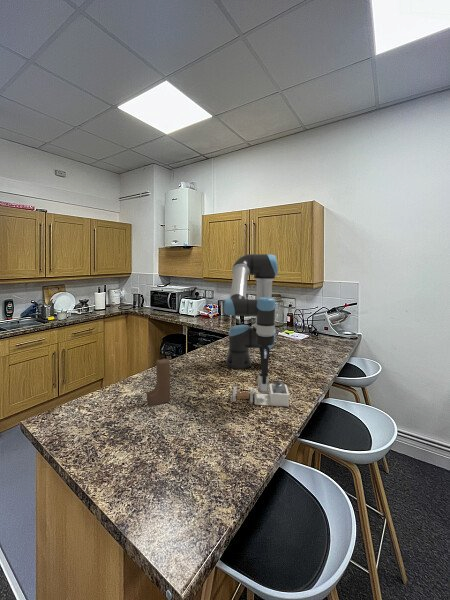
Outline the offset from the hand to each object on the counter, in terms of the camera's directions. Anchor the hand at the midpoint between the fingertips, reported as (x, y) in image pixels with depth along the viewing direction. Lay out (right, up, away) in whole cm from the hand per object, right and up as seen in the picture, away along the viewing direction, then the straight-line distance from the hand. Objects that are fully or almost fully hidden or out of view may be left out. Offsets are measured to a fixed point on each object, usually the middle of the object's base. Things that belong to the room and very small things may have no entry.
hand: (263, 387), depth 120 cm
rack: (+3, -7, +1) cm, 8 cm away
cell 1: (0, -2, 0) cm, 1 cm away
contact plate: (-9, -6, +3) cm, 11 cm away
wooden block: (-45, -7, 0) cm, 45 cm away
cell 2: (+7, -5, 0) cm, 8 cm away
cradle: (-9, -6, +3) cm, 11 cm away
